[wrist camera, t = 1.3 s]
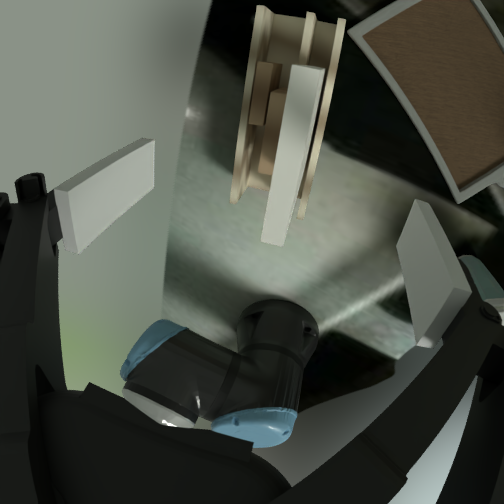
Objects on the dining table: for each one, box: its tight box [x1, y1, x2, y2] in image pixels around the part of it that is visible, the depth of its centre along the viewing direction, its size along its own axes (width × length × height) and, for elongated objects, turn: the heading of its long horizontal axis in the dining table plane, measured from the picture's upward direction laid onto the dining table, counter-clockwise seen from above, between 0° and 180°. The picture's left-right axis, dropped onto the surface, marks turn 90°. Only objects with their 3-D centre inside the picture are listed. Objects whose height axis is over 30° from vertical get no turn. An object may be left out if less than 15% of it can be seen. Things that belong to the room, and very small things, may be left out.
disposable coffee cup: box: [458, 255, 504, 326], centre depth 38 cm, size 11×11×15 cm
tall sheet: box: [261, 64, 326, 247], centre depth 28 cm, size 12×2×22 cm, turn 172°
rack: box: [230, 5, 346, 220], centre depth 35 cm, size 24×9×7 cm, turn 172°
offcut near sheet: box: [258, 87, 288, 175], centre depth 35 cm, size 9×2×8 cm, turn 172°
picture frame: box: [347, 0, 504, 204], centre depth 30 cm, size 19×2×30 cm
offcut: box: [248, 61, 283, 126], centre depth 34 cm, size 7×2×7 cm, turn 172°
